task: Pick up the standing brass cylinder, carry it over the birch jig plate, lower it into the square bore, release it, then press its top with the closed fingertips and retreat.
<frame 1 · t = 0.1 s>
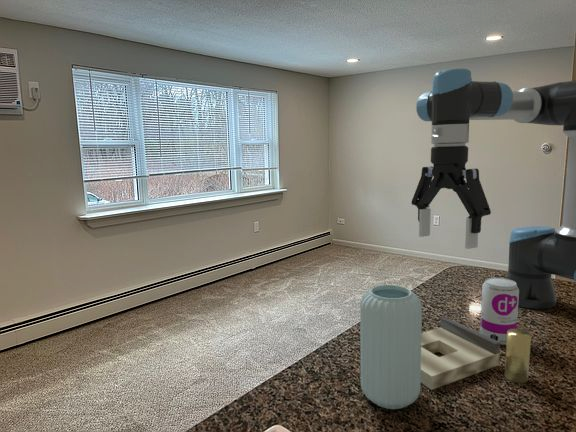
hand: (446, 241, 94), 28 cm above the countertop, fingers open, 13 cm apart
vase: (389, 398, 84), on the countertop
brass cylinder: (516, 377, 89), on the countertop
jig: (438, 360, 97), on the countertop
supplement can: (497, 339, 107), on the countertop
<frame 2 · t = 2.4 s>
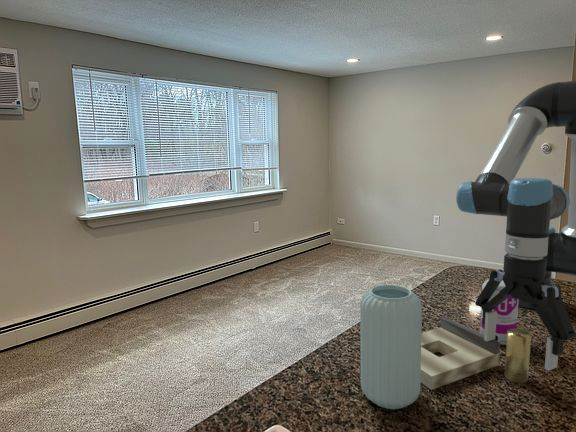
hand: (517, 353, 88), 6 cm above the countertop, fingers open, 13 cm apart
nothing on the countertop moved.
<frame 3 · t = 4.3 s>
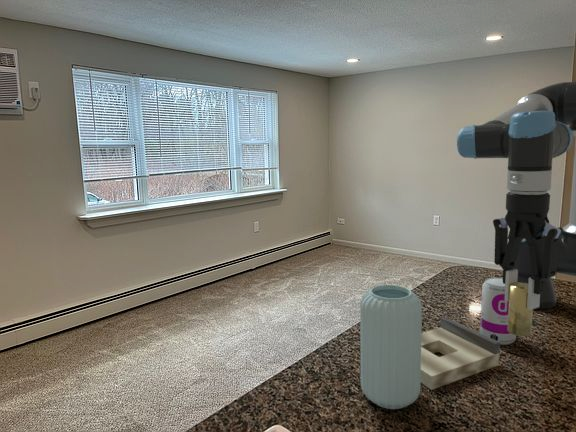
hand: (521, 303, 87), 16 cm above the countertop, fingers closed on brass cylinder, 4 cm apart
brass cylinder: (519, 331, 88), point 10 cm above the countertop, touching gripper
everything else where it was.
when the fingers open (4 cm above the countertop, at t = 7.6 s): brass cylinder stays where it is, resting in jig.
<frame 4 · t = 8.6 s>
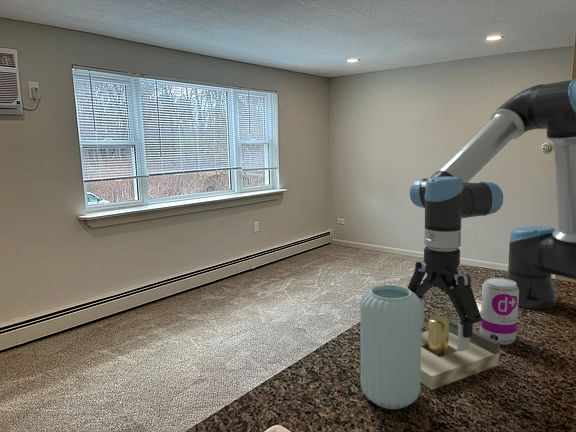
hand: (439, 337, 96), 6 cm above the countertop, fingers open, 13 cm apart
brass cylinder: (437, 360, 97), resting in jig
everything else where it was.
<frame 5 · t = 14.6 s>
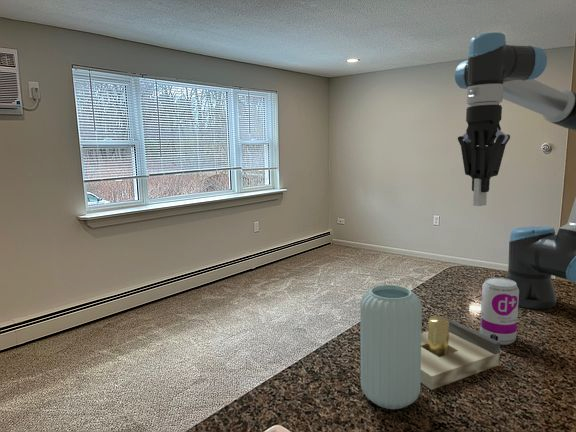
hand: (479, 205, 102), 34 cm above the countertop, fingers closed
nothing on the countertop moved.
at the end: brass cylinder 0.4 cm off-centre on the jig, point 0.0 cm above the jig's base; brass cylinder tilted 0°; the gripper is holding nothing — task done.
